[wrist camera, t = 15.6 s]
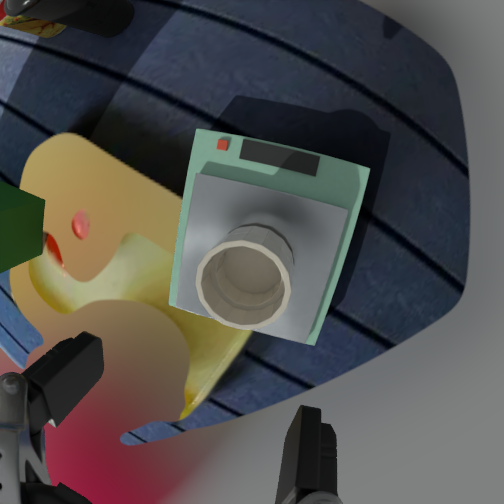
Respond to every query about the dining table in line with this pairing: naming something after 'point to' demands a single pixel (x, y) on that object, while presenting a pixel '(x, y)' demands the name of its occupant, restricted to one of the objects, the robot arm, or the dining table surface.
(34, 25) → the canned food
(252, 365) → the dining table surface
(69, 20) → the drinking cup
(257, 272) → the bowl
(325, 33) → the dining table surface
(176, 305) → the scale pan
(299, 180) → the scale
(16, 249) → the hardback book
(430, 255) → the dining table surface
